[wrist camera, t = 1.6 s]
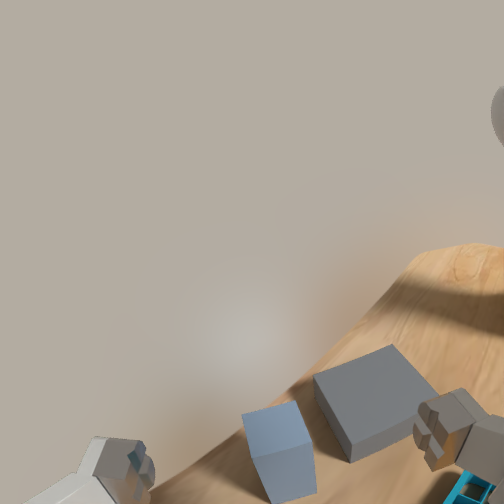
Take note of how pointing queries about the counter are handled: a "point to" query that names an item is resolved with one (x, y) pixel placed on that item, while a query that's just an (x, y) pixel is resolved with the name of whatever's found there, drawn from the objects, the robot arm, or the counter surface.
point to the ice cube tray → (459, 500)
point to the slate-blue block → (281, 451)
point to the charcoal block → (371, 401)
